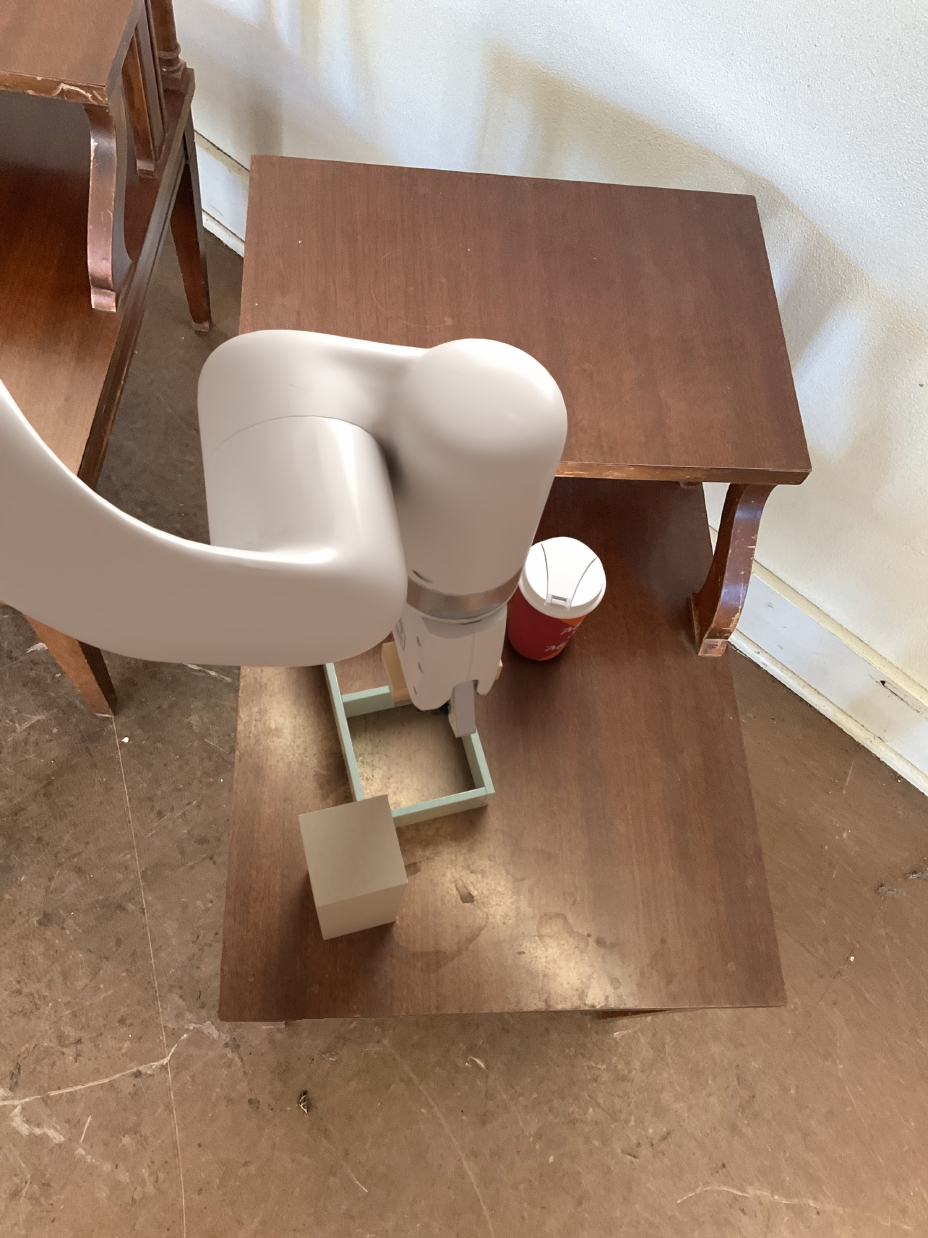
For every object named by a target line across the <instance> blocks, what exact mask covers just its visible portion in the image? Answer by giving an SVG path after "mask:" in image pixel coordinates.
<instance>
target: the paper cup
mask: <svg viewBox="0 0 928 1238" xmlns="http://www.w3.org/2000/svg"><path fill="white" fill-rule="evenodd" d="M606 587H607V580H606V574H605V570H604V567H603V564H602V562H601V560H600V558H599V557H598V556H597V554H596V553H595V552H594V551H593V550H592V549H591V548H590V547H589V546H587V545H586V544H585V543H583V542H581V541H580V540H578V539H575V538H572V537H567V536H559V537H552V538H549V539H546V540H545V539H544V540H543V541H540V542H537V543H535V544H534V545H531V548H530V551H529V554H528V557H527V560H526V563H525V566H524V569H523V572H522V575H521V578H520V581H519V583H518V586H517V589H516V590H515V593H514V594H515V595H514V599H513V603H512V607H511V611H510V616H509V620H508V626H507V636H508V641H509V643H510V645H511V646H512V647H513V649H514V650H515V651H516V652H517V653H518V654H519V655H521V656H523V657H524V658H526V659H529V660H533V661H547V660H550V659H553V658H555V657H557V656H558V655H559V654H560V653H561V652H562V651H563V649H564V648H565V647H566V645H567V644H568V642H570V640H571V638H572V637H573V636H574V634H575V633H576V631H577V630H578V628H579V627H580V626H581V624H582V623H583V622H584V619H586V617H587V616H588V614H589V613H591V612H592V611H593V610H594V609H596V608H597V606H598V605H599V604H600V603H601V601H602V599H603V597H604V595H605V592H606Z"/></svg>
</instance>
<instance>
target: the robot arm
mask: <svg viewBox="0 0 928 1238" xmlns="http://www.w3.org/2000/svg"><path fill="white" fill-rule="evenodd" d="M196 401H197V404H196V405H197V417H198V427H199V436H200V437H199V438H200V445H201V456H202V467H203V476H204V485H205V499H206V510H207V522H208V532H209V533H208V534H209V544H206V543H202V542H198V541H195V540H194V541H193V540H189V539H186V538H182V537H179V536H177V535H174V534H171V533H169V532H166V531H164V530H161V529H158V528H156V527H153V526H151V525H149V524H147V523H145V522H143V521H141V520H139V519H137V518H136V517H133V516H132V515H130V514H128V513H126V512H125V511H122V510H121V509H119V508H118V507H117V506H115V505H113V504H112V503H110V502H109V501H108V500H106V499H105V498H103V497H102V496H101V495H99V494H98V493H97V492H95V491H94V490H93V489H92V488H90V487H89V486H88V485H87V484H86V483H85V482H83V480H81V479H80V477H78V476H77V475H76V474H75V473H73V471H71V470H70V469H69V468H68V467H67V466H66V465H65V464H64V463H63V461H62V460H61V459H60V458H59V457H58V456H57V455H56V454H55V453H54V452H53V450H52V449H51V448H50V447H49V446H48V445H47V444H46V442H45V441H43V439H42V438H41V436H40V435H39V434H38V432H37V431H36V430H35V428H34V427H33V426H32V425H31V423H30V422H29V421H28V419H27V417H26V416H25V415H24V414H23V412H22V411H21V409H20V407H19V406H18V404H17V402H16V401H15V399H14V398H13V396H12V395H11V393H10V391H9V390H8V389H7V387H6V385H5V384H4V382H3V381H2V379H1V378H0V601H1V602H3V603H5V604H7V606H10V607H11V608H13V609H15V610H17V611H18V612H20V613H22V614H24V615H26V616H28V617H29V618H30V619H33V620H35V621H37V622H39V623H40V624H43V625H45V626H46V627H49V628H50V629H52V630H55V631H57V632H59V633H62V634H64V635H66V636H68V637H70V638H73V640H74V639H75V640H77V641H79V642H82V643H84V644H86V645H89V646H92V647H94V648H98V649H100V650H103V651H107V652H109V653H113V654H116V655H120V656H123V657H126V658H133V659H138V660H144V661H149V662H159V663H160V662H161V663H170V664H171V663H172V664H186V665H208V666H209V665H210V666H227V667H229V666H230V667H247V668H251V667H252V668H290V667H291V668H293V667H295V668H296V667H312V666H320V665H323V664H327V663H333V664H334V663H337V662H340V661H344V660H347V659H351V658H354V657H356V656H359V655H361V654H364V653H365V652H367V651H370V650H371V649H373V648H374V647H376V646H377V645H379V644H380V643H381V642H382V641H384V640H386V638H387V637H388V636H389V635H390V634H391V633H392V636H393V640H394V641H395V644H396V648H397V652H398V656H399V659H400V663H401V667H402V670H403V674H404V678H405V681H406V685H407V688H408V692H409V695H410V697H411V700H412V702H413V703H412V704H413V705H414V706H415V710H416V713H425V712H429V711H430V713H431V715H432V716H440V715H442V716H448V722H449V725H450V726H451V729H452V731H453V734H454V736H455V738H461V737H462V736H466V735H470V734H474V733H476V728H477V723H476V722H477V721H476V707H475V705H476V704H475V702H476V701H475V693H476V695H477V696H478V695H480V697H482V698H484V697H485V696H486V695H488V694H489V692H490V690H491V689H492V688H493V687H492V686H493V685H494V682H495V678H496V674H497V671H498V667H499V663H500V659H501V660H502V653H503V649H504V641H505V636H506V635H505V634H506V626H507V625H506V624H507V614H508V602H509V601H510V600H511V599H512V597H513V595H514V594H515V593H516V590H517V586H518V583H519V581H520V578H521V575H522V572H523V569H524V566H525V563H526V560H527V557H528V554H529V551H530V548H531V547H532V546H533V542H534V539H535V536H536V533H537V530H538V528H539V525H540V522H541V518H542V516H543V512H544V510H545V506H546V503H547V501H548V497H549V495H550V491H551V489H552V486H553V484H554V483H553V482H554V481H555V477H556V474H557V470H558V468H559V466H560V462H561V459H562V456H563V453H564V449H565V445H566V440H567V436H568V413H567V408H566V404H565V401H564V397H563V394H562V391H561V389H560V388H559V386H558V383H557V382H556V381H555V379H554V378H553V376H552V375H551V374H550V372H549V371H548V370H547V369H546V368H545V367H544V366H543V365H542V364H541V363H540V362H539V361H538V360H536V358H534V357H533V356H531V355H530V354H528V353H527V352H525V351H524V350H522V349H520V348H518V347H515V346H513V345H511V344H508V343H505V342H502V341H498V340H493V339H487V338H463V339H454V340H451V341H448V342H444V343H440V344H438V345H436V346H433V347H430V348H425V347H424V348H422V347H414V346H406V345H397V344H391V343H383V342H377V341H371V340H364V339H358V338H353V337H346V336H341V335H336V334H335V335H334V334H330V333H321V332H315V331H308V330H307V331H306V330H297V329H262V330H256V331H252V332H246V333H243V334H239V335H236V336H234V337H232V338H229V339H228V340H226V341H225V342H223V343H221V344H220V345H219V346H217V347H216V348H215V349H214V350H213V351H212V352H211V353H210V354H209V355H208V357H207V358H206V360H205V362H204V364H203V366H202V368H201V370H200V373H199V377H198V382H197V400H196ZM474 686H475V689H474Z"/></svg>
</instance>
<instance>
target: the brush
mask: <svg viewBox="0 0 928 1238" xmlns="http://www.w3.org/2000/svg"><path fill="white" fill-rule="evenodd" d="M380 652H381V653H380V659H381V663H382V668H383V671H384V675H385V679H386V683H387V686H388V687H389V691H390V695H391V699H392V702H393V703H394V706H395V707H394V708H398V707H402V706H401V705H403V706H406V704H407V705H411V704H410V703H412V704H413V702H412V700H411V697H410V695H409V692H408V688H407V685H406V681H405V678H404V674H403V670H402V667H401V663H400V659H399V656H398V652H397V648H396V644H395V640H394V641H389V642H384V643H381V651H380ZM502 669H503V662H502V658H501V659H500V663H499V667H498V671H497V674H496V678H495V680H499V677H500V676H501V675H500V674H501V672H502ZM495 680H494V681H495ZM474 690H475V686H474ZM397 706H398V707H397Z"/></svg>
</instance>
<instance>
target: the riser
mask: <svg viewBox="0 0 928 1238" xmlns="http://www.w3.org/2000/svg"><path fill="white" fill-rule="evenodd" d="M391 810H392V809H391V805H390V801H389V796H388V794H381V795H377V796H371V797H368V798H365V799H364V800H360V801H356V802H354V801H352V802H348V803H344V804H339V805H335V806H331V807H327V808H322V809H318V810H315V811H310V812H306V813H301V814H298V815H297V821H298V826H299V830H300V834H301V835H300V836H301V840H302V846H303V852H304V855H305V859H306V860H305V861H306V867H307V871H308V876H309V882H310V886H311V890H312V895H313V902H314V907H315V910H316V915H317V918H318V924H319V928H320V931H321V936H322V940H323V941H327V940H330V939H334V938H337V937H341V936H346V935H348V934H353V933H356V932H361V931H363V930H368V929H371V928H375V927H379V926H382V925H386V924H389V923H393V922H396V920H397V917H398V914H399V911H400V908H401V905H402V902H403V900H404V896H405V895H406V890H407V888H408V885H409V880H408V875H407V871H406V867H405V863H404V858H403V855H402V851H401V846H400V842H399V839H398V833H397V829H396V828H395V825H394V821H393V817H392V813H391Z"/></svg>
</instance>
